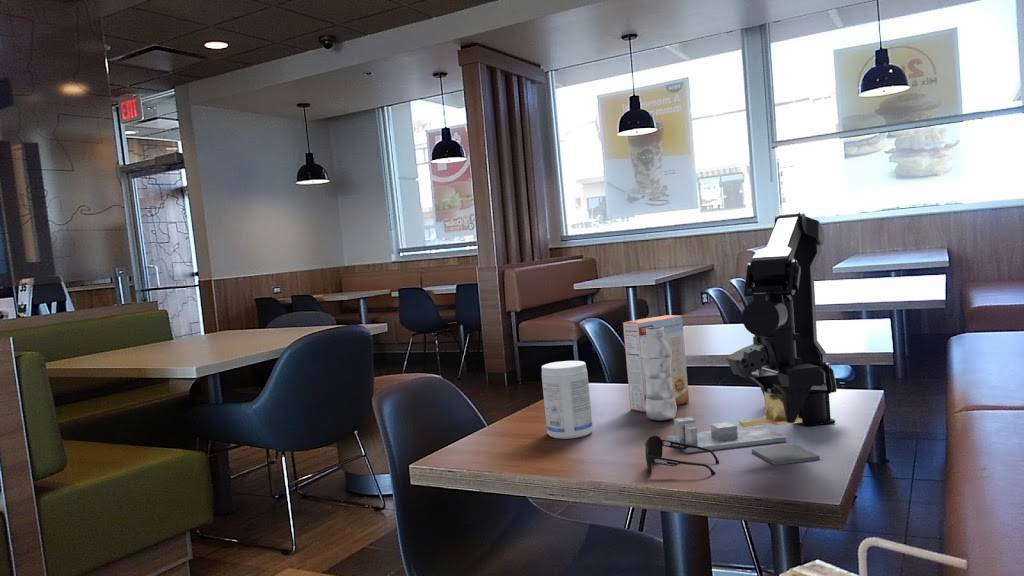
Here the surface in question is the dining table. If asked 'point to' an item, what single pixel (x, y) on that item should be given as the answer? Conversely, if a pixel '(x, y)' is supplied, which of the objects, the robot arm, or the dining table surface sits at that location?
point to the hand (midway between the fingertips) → (782, 419)
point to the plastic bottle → (658, 376)
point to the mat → (785, 454)
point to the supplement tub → (566, 399)
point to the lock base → (736, 442)
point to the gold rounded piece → (771, 411)
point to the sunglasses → (655, 447)
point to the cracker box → (635, 368)
